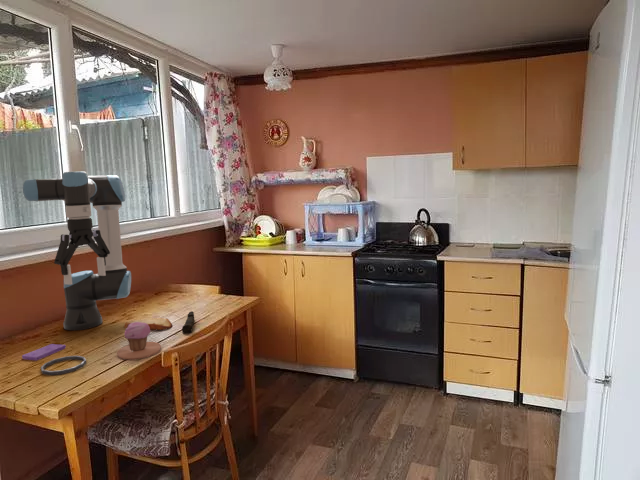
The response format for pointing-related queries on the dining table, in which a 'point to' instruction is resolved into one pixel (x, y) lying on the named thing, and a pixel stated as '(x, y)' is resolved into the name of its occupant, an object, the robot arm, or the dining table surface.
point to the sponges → (43, 352)
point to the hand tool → (188, 323)
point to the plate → (148, 351)
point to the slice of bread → (154, 323)
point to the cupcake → (137, 335)
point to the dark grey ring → (64, 369)
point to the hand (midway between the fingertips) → (85, 279)
